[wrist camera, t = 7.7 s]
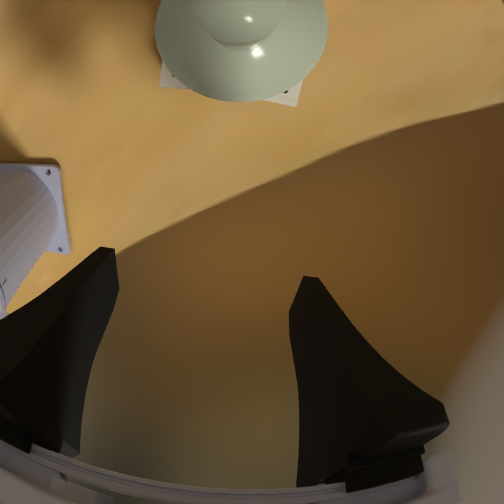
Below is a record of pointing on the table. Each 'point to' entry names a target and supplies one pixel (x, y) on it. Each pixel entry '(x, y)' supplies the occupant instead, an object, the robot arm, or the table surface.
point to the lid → (240, 45)
